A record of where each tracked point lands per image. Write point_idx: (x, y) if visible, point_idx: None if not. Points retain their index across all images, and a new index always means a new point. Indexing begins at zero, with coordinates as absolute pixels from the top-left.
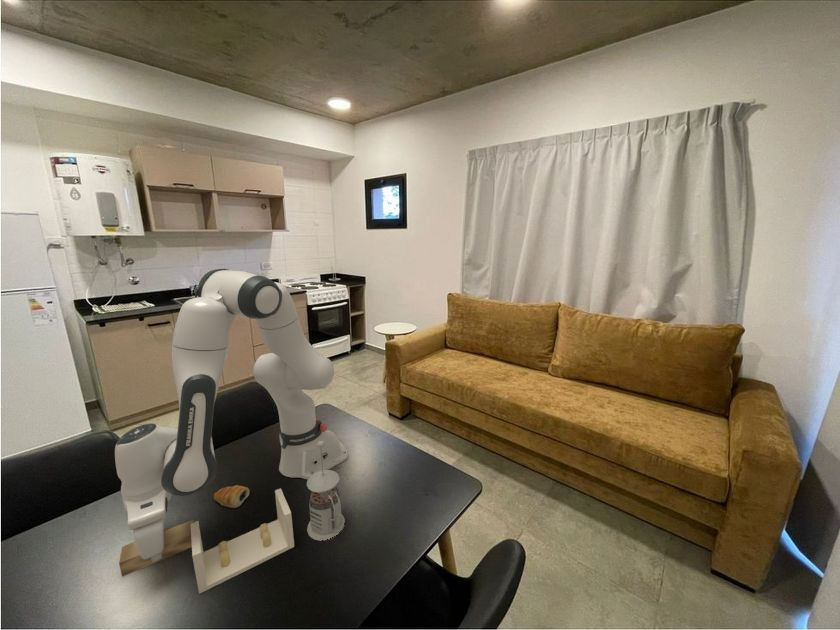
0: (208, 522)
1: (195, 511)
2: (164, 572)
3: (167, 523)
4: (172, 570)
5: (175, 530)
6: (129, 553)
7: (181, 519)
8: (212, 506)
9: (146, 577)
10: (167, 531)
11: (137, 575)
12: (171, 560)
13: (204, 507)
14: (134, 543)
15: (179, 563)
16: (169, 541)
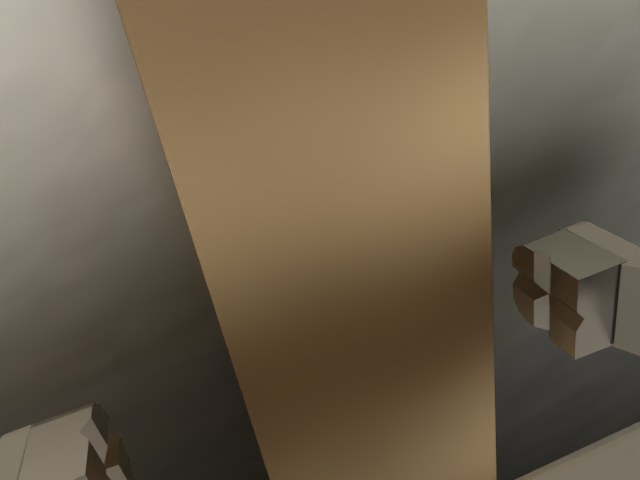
0: None
1: (630, 356)
2: (47, 383)
3: (634, 196)
4: None
5: (435, 454)
6: (275, 66)
7: None
8: None
9: (22, 248)
10: (462, 387)
11: (77, 146)
12: (181, 384)
13: (630, 398)
14: (458, 69)
15: None
16: (292, 474)
